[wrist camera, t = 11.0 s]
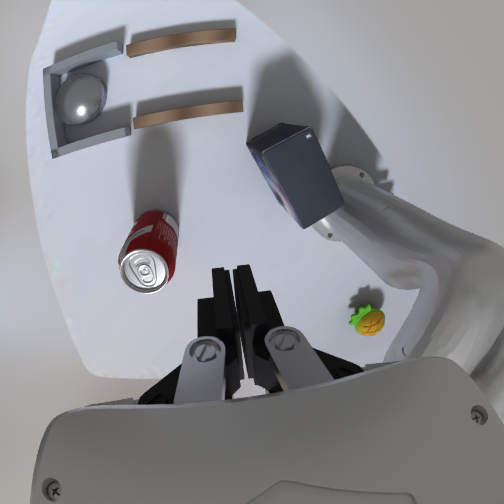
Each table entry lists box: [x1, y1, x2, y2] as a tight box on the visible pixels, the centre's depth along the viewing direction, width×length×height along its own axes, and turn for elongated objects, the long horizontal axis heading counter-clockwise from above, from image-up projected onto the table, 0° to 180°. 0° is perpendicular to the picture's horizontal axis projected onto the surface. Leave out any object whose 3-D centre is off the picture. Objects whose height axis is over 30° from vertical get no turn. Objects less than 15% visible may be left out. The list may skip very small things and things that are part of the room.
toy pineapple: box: [349, 304, 385, 336], centre depth 53 cm, size 7×10×5 cm
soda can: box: [118, 210, 179, 294], centre depth 33 cm, size 7×7×12 cm
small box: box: [246, 123, 345, 229], centre depth 33 cm, size 11×6×10 cm, turn 29°
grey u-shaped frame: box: [43, 41, 131, 159], centre depth 27 cm, size 11×13×3 cm
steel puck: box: [55, 73, 107, 125], centre depth 27 cm, size 7×7×3 cm
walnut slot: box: [126, 28, 243, 129], centre depth 29 cm, size 14×12×2 cm
